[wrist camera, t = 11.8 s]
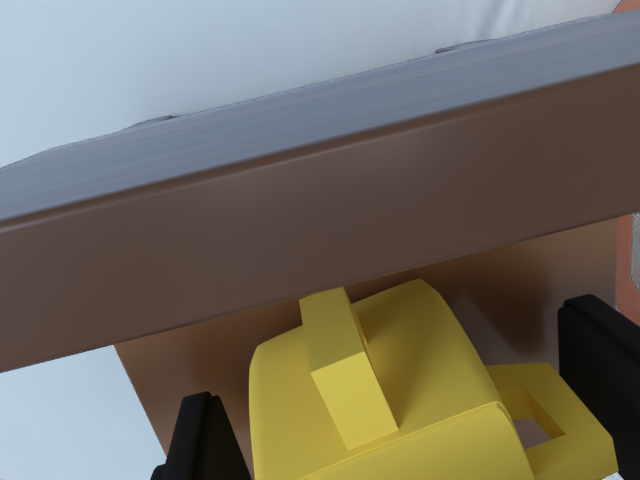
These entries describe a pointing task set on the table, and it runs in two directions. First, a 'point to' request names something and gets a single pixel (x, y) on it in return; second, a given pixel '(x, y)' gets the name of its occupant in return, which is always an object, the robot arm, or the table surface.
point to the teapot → (408, 400)
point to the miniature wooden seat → (332, 214)
